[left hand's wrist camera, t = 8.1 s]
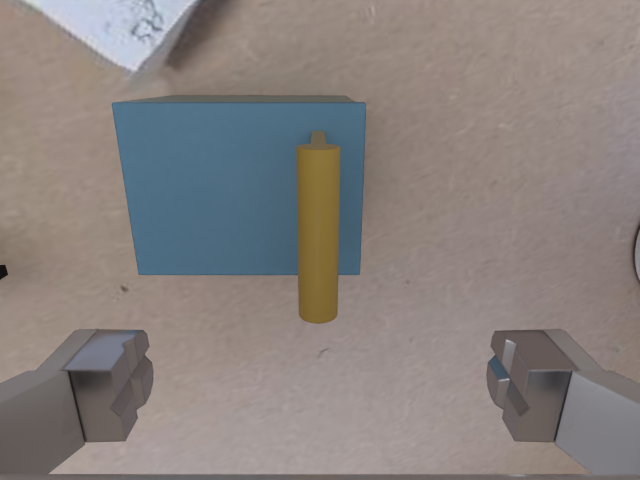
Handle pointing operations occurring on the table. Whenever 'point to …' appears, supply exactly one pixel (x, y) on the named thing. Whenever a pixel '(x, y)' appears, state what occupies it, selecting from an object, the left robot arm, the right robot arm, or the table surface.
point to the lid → (247, 191)
